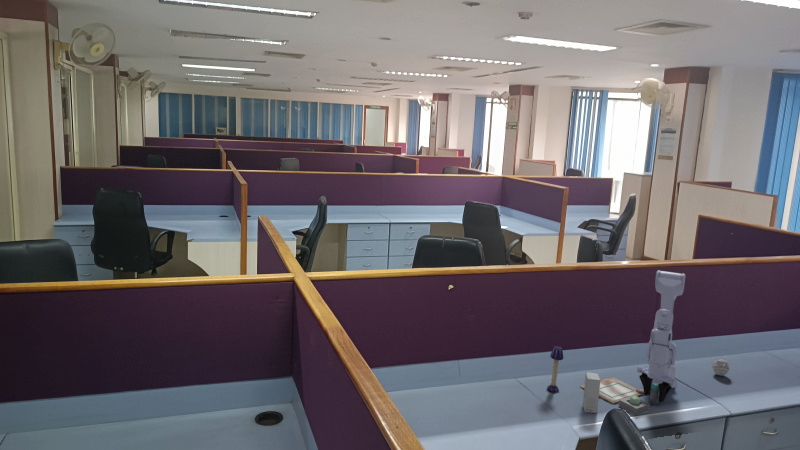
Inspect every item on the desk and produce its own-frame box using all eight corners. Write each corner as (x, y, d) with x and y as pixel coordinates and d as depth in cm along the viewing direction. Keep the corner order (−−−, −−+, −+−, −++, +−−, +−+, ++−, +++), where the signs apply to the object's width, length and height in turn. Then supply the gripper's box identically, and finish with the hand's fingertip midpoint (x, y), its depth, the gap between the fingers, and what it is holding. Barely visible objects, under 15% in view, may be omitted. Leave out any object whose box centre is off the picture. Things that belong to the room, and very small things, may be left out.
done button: (633, 402, 200) (634, 394, 199) (641, 407, 197) (642, 399, 196) (626, 404, 198) (627, 396, 197) (635, 409, 195) (635, 401, 195)
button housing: (631, 402, 202) (632, 395, 202) (649, 410, 196) (649, 404, 196) (618, 406, 199) (619, 399, 198) (635, 415, 193) (636, 408, 192)
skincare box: (597, 413, 193) (600, 380, 191) (584, 412, 194) (587, 378, 192) (595, 405, 199) (598, 373, 197) (582, 403, 200) (585, 371, 198)
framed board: (613, 377, 222) (613, 375, 222) (646, 393, 209) (647, 391, 209) (580, 387, 213) (580, 384, 213) (613, 404, 200) (613, 401, 200)
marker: (652, 400, 204) (654, 382, 203) (659, 404, 202) (661, 385, 200) (647, 402, 203) (649, 384, 201) (654, 405, 200) (656, 387, 199)
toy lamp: (554, 386, 213) (558, 344, 210) (563, 391, 209) (567, 348, 206) (544, 388, 211) (548, 345, 208) (552, 394, 207) (556, 350, 204)
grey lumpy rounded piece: (714, 378, 225) (716, 361, 224) (708, 371, 232) (710, 354, 231) (730, 380, 224) (733, 363, 223) (725, 373, 231) (727, 356, 230)
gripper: (633, 356, 204) (629, 392, 206) (669, 371, 191) (665, 409, 194) (646, 353, 207) (642, 388, 210) (682, 368, 195) (678, 405, 197)
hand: (654, 398), depth 202 cm, fingers open, 5 cm apart
